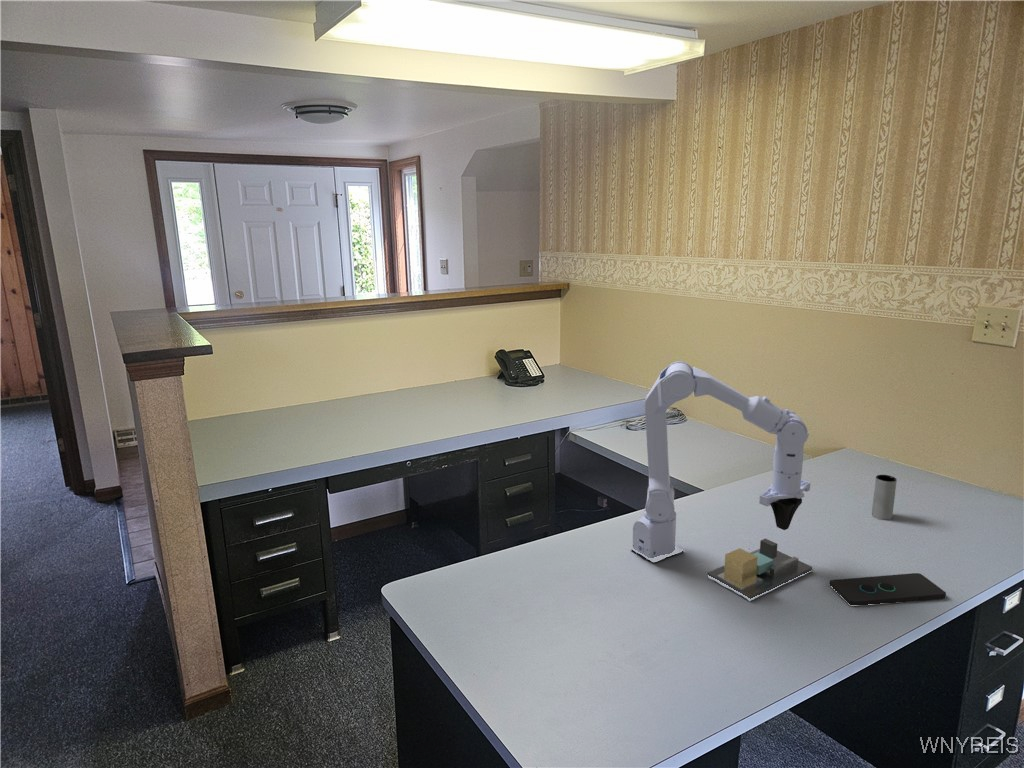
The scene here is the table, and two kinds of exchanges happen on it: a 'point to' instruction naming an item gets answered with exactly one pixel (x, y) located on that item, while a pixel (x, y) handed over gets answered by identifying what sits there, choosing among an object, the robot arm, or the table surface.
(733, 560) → the block
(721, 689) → the table surface
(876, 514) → the grey cylinder
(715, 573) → the press bed
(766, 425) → the robot arm
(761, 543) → the teal and grey block
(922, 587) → the smart home device
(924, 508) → the table surface
